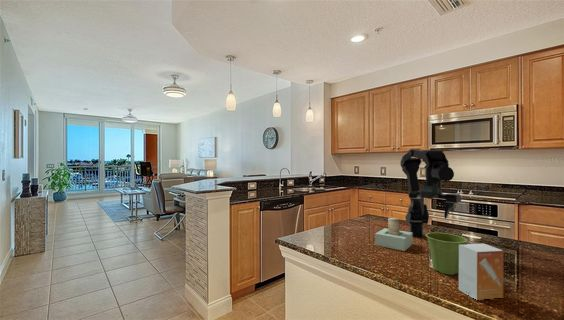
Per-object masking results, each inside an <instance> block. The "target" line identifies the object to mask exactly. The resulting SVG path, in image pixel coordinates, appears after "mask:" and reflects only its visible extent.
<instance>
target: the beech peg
mask: <svg viewBox="0 0 564 320" xmlns="http://www.w3.org/2000/svg"><path fill="white" fill-rule="evenodd" d="M387 227H388V228H387V229H388V234H390V235H396V236H399V230H400V219H399V218H396V217H395V218H394V217H388V219H387Z"/></svg>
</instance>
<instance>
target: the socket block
mask: <svg viewBox="0 0 564 320" xmlns="http://www.w3.org/2000/svg"><path fill="white" fill-rule="evenodd" d="M413 237H414V236H413V233H412V232H410V231H405V230H400V229H399V236H396V235H390V234H388V228H387V227H384V228H383V229H381V230H379V231H377V232H376V233H374V246H377V247H383V248H388V249H392V250H398V251H400V252H401V251H403V252H406V251H407V249H409V248H410V247H411V246H412V245H413V243H414V241H413Z"/></svg>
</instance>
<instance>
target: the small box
mask: <svg viewBox="0 0 564 320" xmlns="http://www.w3.org/2000/svg"><path fill="white" fill-rule="evenodd" d="M458 290H459V291H460V292H462V293H463V294H465V295H467V296H468V295H469V298H472V299H473V298H474V299H473V300H475V299H476V300H475V301H477V300H479V301H485V300H484V299H490V300H495V299H494V298H503V299H504V250H503V249H500V248H497V247H494V246H492V245H489V244H486V243H468V244H466V243H465V245H459V272H458Z"/></svg>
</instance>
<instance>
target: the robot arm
mask: <svg viewBox="0 0 564 320" xmlns="http://www.w3.org/2000/svg"><path fill="white" fill-rule="evenodd" d="M422 162H424V163H425V166H424V167H423V168H424V169H425V181H424V185H423V186H422V187H421V188H420V185H419V179H418V172H419V170H420V165H421V164H422ZM400 167H401V169H402V170H401V171H402V172H403V173H404V175H405V176H406V179H407V186H408V198H409V200H410V204H409V206H408V207H407V208H408V209H407V210H408V212H407V213H406V215H405V222H406V223H408V224H409V232H412V233H413V237H415V238H424V237H426V233H424V224H426V225H428V223H429V218H430V214H429V212H428V206H427V204H425V199H428V200H432V199H436V200H437V199H439V200H444V202H443V204H444V219H447V218H448V216H449V214H450V212H451V210H452V208H453V206H454V205H455V204H457V203H460V202H462V195H461V194H460V193H446V194H443V191H442V185H443V182H450V181H452V180H453V179H454V177H455V171H454V170H453V168H451V167H450V166H449V161H448V159H447V157H446V155H445V153H444V151H443V150H442V149H420V148H411V149H409V150H408V152H407V153H405V154H404V155H402V158H401V160H400Z"/></svg>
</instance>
